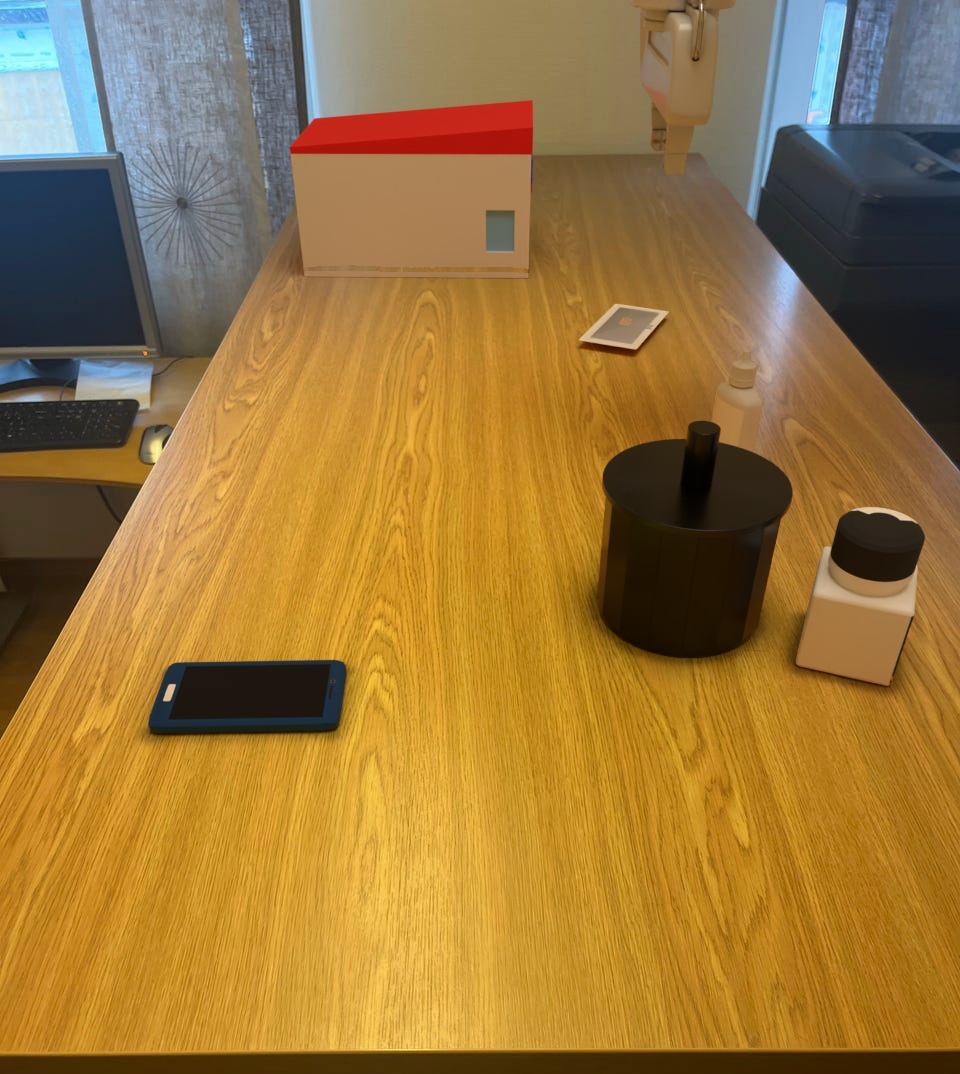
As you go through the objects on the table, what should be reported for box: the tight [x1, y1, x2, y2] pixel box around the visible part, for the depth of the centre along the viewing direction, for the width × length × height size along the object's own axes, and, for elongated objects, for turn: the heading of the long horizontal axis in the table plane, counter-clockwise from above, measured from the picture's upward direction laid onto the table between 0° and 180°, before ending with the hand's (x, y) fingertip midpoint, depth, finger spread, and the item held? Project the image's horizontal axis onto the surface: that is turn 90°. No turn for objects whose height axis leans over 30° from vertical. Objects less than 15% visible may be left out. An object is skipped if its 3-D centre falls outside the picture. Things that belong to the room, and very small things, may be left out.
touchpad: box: [578, 303, 670, 351], centre depth 131 cm, size 8×15×2 cm, turn 155°
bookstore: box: [289, 99, 534, 279], centre depth 152 cm, size 21×35×21 cm, turn 88°
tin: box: [596, 497, 782, 659], centre depth 79 cm, size 13×13×12 cm
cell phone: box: [147, 659, 347, 734], centre depth 73 cm, size 7×14×1 cm, turn 91°
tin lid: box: [601, 420, 794, 538], centre depth 74 cm, size 14×14×6 cm
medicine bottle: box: [795, 506, 926, 687], centre depth 74 cm, size 7×7×12 cm
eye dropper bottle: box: [710, 348, 764, 453], centre depth 99 cm, size 4×6×12 cm
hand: (666, 161), depth 90 cm, fingers open, 8 cm apart
